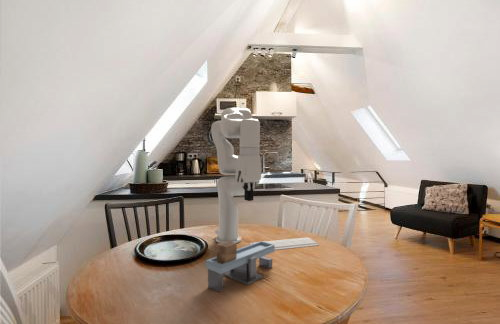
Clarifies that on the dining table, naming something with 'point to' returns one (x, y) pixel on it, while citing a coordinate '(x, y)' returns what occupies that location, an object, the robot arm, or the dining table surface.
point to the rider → (226, 252)
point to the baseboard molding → (292, 243)
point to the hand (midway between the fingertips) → (248, 200)
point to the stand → (239, 273)
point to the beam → (241, 257)
